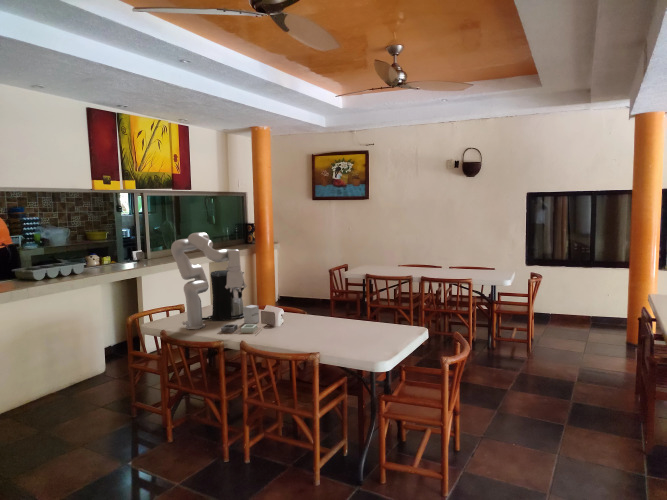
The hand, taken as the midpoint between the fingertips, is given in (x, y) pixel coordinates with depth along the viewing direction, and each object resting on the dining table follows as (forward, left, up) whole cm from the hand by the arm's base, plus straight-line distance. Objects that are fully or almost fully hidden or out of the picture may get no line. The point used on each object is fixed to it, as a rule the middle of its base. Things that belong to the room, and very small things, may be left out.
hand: (236, 297), depth 295 cm
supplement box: (+2, +20, -23) cm, 31 cm away
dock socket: (+7, 0, -21) cm, 23 cm away
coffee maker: (-26, +41, -23) cm, 54 cm away
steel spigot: (0, 0, -4) cm, 4 cm away
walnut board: (0, 0, -23) cm, 23 cm away
